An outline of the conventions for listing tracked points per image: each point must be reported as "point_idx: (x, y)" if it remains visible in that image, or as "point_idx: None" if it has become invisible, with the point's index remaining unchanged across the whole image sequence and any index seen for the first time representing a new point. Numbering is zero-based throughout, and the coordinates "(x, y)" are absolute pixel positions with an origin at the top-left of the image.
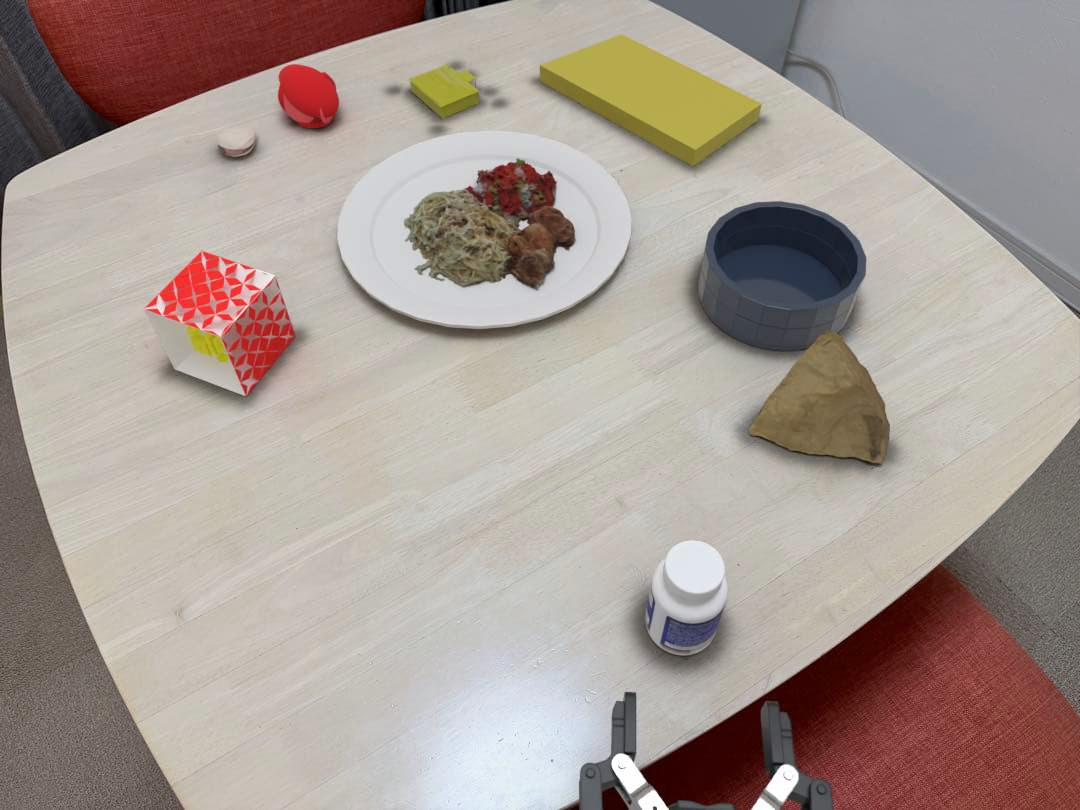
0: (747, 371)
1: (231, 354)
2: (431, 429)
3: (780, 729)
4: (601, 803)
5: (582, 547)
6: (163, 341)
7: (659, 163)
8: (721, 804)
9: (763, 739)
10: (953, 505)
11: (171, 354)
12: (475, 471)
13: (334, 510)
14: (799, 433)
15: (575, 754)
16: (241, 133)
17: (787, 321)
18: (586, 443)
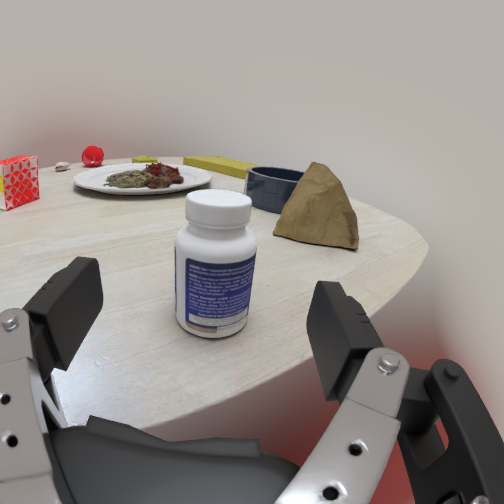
0: (271, 218)
1: (6, 184)
2: (73, 221)
3: (350, 306)
4: None
5: (137, 269)
6: None
7: (228, 177)
8: (220, 440)
9: (316, 352)
10: (401, 267)
11: None
12: (85, 234)
13: (3, 242)
14: (306, 227)
15: (66, 407)
16: (64, 162)
17: (292, 190)
18: (162, 230)
